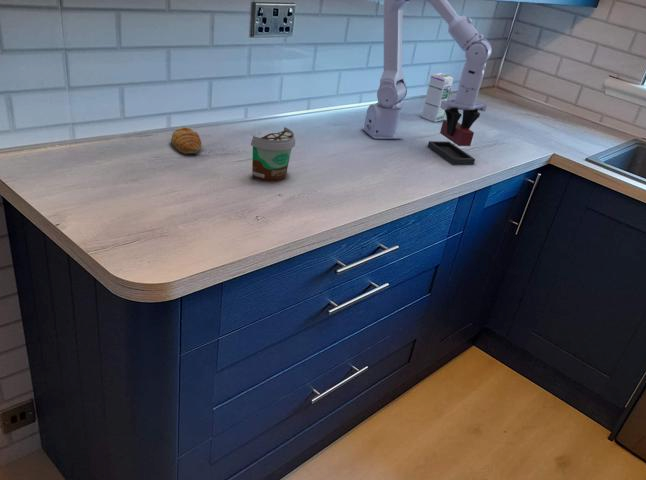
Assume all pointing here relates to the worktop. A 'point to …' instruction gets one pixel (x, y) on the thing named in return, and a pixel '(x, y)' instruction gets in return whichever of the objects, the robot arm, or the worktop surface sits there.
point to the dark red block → (458, 134)
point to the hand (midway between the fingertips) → (455, 134)
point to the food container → (272, 155)
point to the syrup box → (437, 96)
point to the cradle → (451, 152)
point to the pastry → (186, 140)
